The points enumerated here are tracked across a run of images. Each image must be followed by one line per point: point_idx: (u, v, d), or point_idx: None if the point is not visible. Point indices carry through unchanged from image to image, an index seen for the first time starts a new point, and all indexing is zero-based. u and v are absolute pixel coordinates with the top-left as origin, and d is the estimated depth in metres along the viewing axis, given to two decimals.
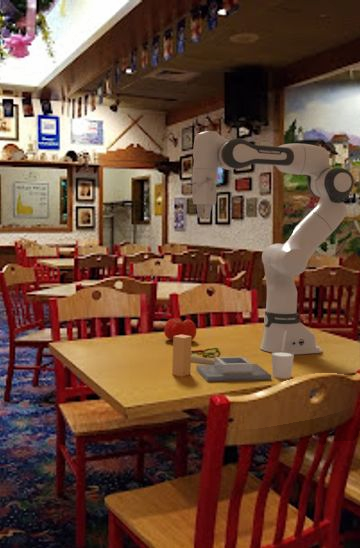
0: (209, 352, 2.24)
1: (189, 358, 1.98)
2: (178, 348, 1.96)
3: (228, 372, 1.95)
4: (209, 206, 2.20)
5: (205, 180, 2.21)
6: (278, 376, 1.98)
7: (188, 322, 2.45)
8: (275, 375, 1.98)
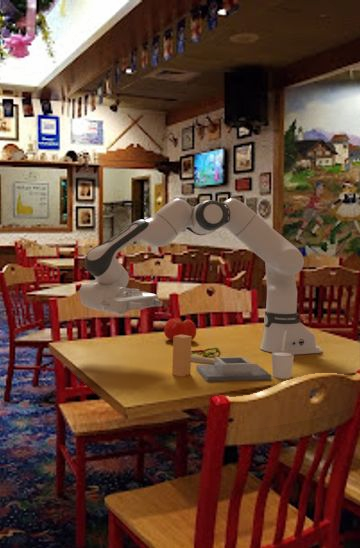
0: (209, 352, 2.24)
1: (189, 358, 1.98)
2: (178, 348, 1.96)
3: (228, 372, 1.95)
4: (129, 304, 2.00)
5: None
6: (278, 376, 1.98)
7: (188, 322, 2.45)
8: (275, 375, 1.98)
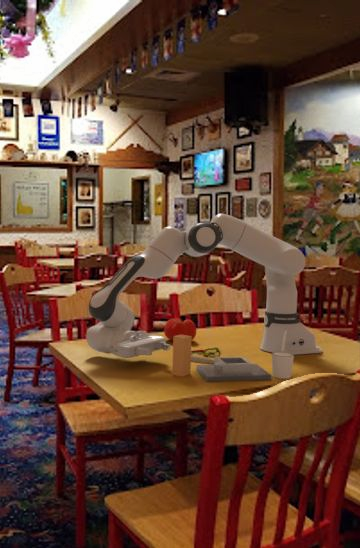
0: (209, 352, 2.25)
1: (189, 358, 1.98)
2: (178, 348, 1.96)
3: (228, 372, 1.95)
4: (137, 350, 2.00)
5: None
6: (278, 376, 1.98)
7: (188, 322, 2.45)
8: (275, 375, 1.98)
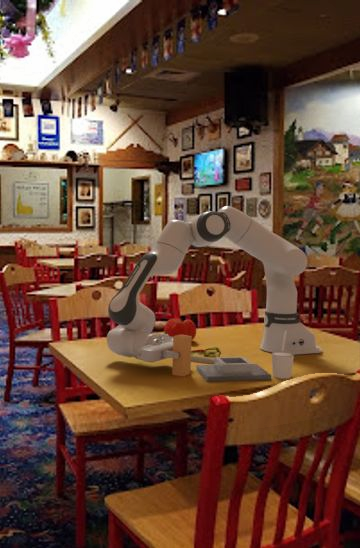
0: (210, 352, 2.25)
1: (189, 358, 1.98)
2: (178, 348, 1.96)
3: (228, 372, 1.95)
4: (165, 353, 1.96)
5: None
6: (278, 376, 1.98)
7: (188, 322, 2.45)
8: (275, 375, 1.98)
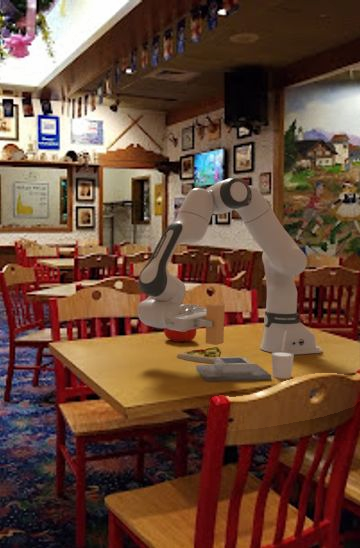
0: (210, 351, 2.25)
1: (222, 326, 1.98)
2: (211, 317, 1.96)
3: (228, 372, 1.95)
4: (198, 322, 1.96)
5: None
6: (278, 376, 1.98)
7: None
8: (275, 375, 1.98)
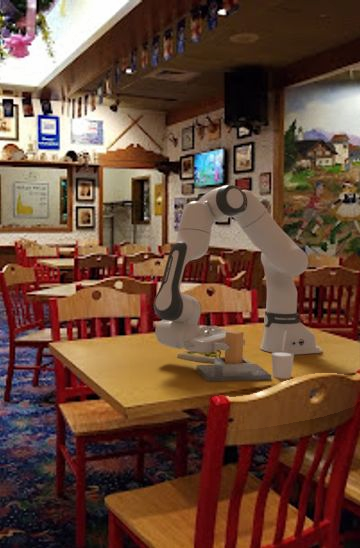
0: None
1: (241, 354, 1.99)
2: (230, 344, 1.97)
3: (228, 372, 1.95)
4: (214, 345, 1.95)
5: None
6: (278, 376, 1.98)
7: None
8: (275, 375, 1.98)
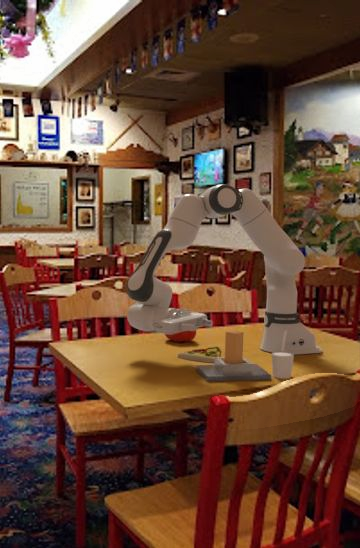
0: (211, 351, 2.26)
1: (241, 354, 1.99)
2: (230, 344, 1.97)
3: (228, 372, 1.95)
4: (181, 326, 2.03)
5: None
6: (278, 376, 1.98)
7: None
8: (275, 375, 1.98)
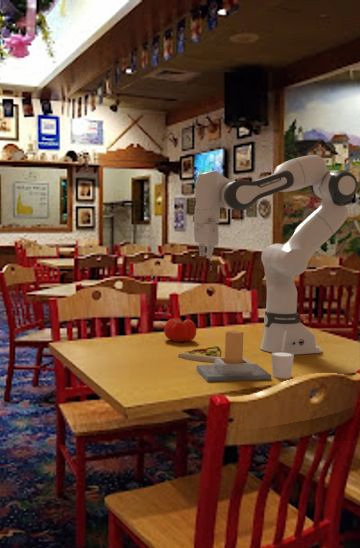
0: (211, 351, 2.27)
1: (241, 354, 1.99)
2: (230, 344, 1.97)
3: (228, 372, 1.95)
4: (211, 247, 2.19)
5: (207, 221, 2.20)
6: (278, 376, 1.98)
7: (188, 322, 2.45)
8: (275, 375, 1.98)
